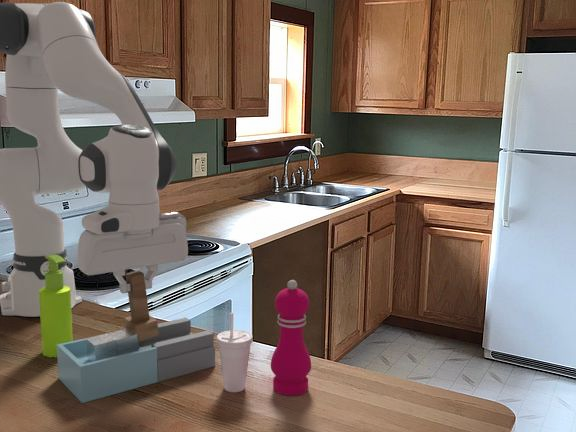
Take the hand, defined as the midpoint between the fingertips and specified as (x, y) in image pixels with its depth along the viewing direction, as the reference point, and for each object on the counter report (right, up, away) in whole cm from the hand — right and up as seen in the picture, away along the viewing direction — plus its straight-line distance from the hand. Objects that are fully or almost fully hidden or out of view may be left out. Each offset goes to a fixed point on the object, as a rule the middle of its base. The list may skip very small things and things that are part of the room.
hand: (136, 290), depth 116 cm
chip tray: (-5, -16, -1) cm, 17 cm away
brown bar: (+1, -8, +2) cm, 9 cm away
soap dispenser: (-18, -14, +11) cm, 26 cm away
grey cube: (-2, -12, 0) cm, 12 cm away
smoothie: (+18, -17, -3) cm, 25 cm away
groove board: (+6, -15, +7) cm, 17 cm away
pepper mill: (+28, -17, -3) cm, 33 cm away
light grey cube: (-5, -12, -2) cm, 14 cm away
